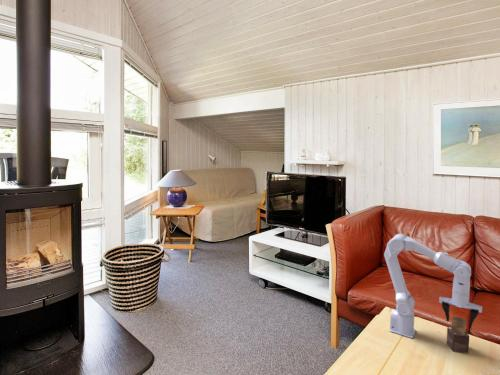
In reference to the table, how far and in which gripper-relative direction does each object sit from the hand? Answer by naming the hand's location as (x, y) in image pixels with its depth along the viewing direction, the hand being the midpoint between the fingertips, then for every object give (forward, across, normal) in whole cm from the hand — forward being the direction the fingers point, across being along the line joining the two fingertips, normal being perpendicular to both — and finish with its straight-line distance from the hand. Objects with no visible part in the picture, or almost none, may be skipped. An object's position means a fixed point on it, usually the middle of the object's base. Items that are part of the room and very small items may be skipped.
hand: (458, 323), depth 129 cm
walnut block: (+3, 0, 0) cm, 3 cm away
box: (+11, 0, 0) cm, 11 cm away
